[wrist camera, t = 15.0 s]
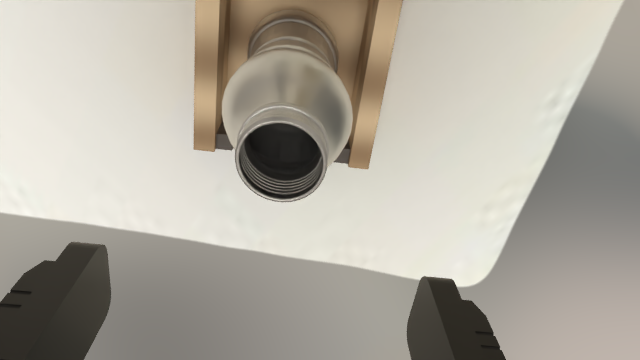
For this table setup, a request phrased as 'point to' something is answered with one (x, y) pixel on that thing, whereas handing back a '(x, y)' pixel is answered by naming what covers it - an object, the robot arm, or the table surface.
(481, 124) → the table surface
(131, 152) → the table surface
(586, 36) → the table surface
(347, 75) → the caddy
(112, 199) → the table surface
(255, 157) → the metal bottle
